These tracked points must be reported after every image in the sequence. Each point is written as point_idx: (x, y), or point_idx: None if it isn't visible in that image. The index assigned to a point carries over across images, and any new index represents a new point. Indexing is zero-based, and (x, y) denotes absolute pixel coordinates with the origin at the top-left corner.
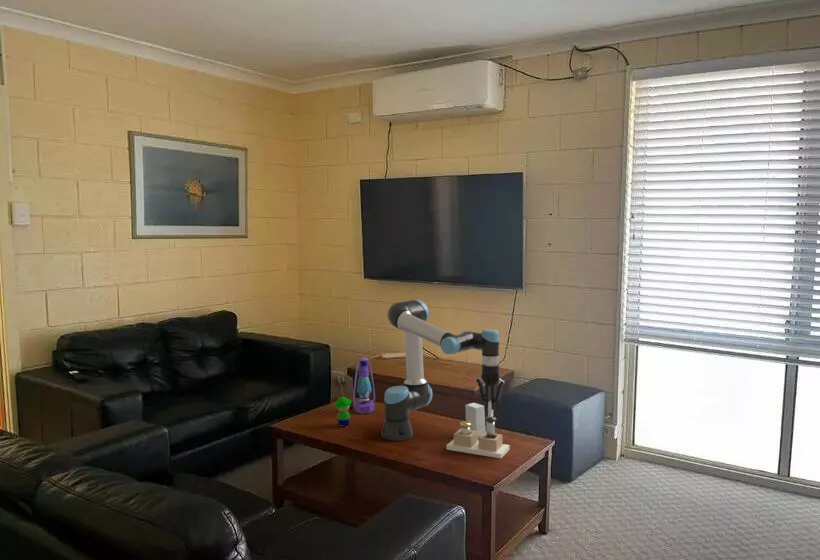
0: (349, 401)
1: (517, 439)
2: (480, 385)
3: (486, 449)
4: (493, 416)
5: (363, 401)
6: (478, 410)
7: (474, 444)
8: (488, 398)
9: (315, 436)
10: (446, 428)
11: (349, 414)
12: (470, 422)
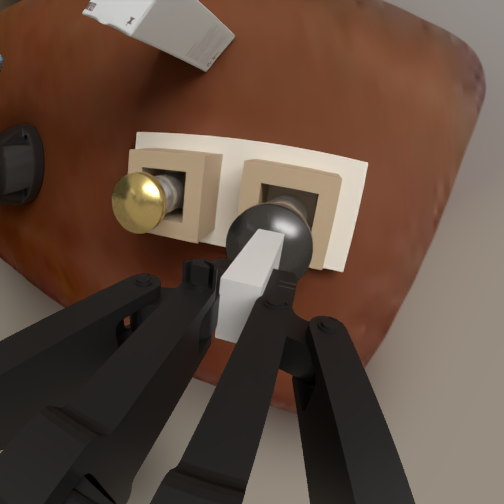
0: None
1: (375, 43)
2: (21, 428)
3: None
4: (285, 215)
5: None
6: (153, 22)
7: (219, 191)
8: (200, 356)
9: None
10: (98, 39)
11: None
12: (153, 188)
